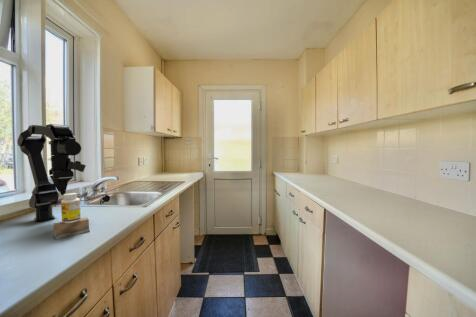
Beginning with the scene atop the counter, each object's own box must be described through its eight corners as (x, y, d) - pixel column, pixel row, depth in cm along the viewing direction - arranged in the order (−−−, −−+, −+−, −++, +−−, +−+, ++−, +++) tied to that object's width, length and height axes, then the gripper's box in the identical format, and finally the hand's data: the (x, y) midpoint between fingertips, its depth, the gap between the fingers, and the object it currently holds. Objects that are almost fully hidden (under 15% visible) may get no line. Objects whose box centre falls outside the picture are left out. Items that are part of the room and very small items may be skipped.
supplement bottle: (60, 221, 83) (59, 193, 82) (78, 217, 87) (77, 191, 87) (63, 224, 79) (62, 196, 79) (82, 220, 83) (81, 193, 83)
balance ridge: (55, 239, 78) (55, 226, 77) (53, 235, 82) (53, 222, 81) (89, 231, 85) (89, 219, 84) (86, 228, 89) (86, 216, 88)
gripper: (88, 155, 91) (89, 193, 91) (79, 154, 104) (80, 188, 105) (52, 156, 83) (54, 197, 84) (48, 155, 96) (49, 191, 97)
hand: (61, 193), depth 93 cm, fingers open, 9 cm apart
